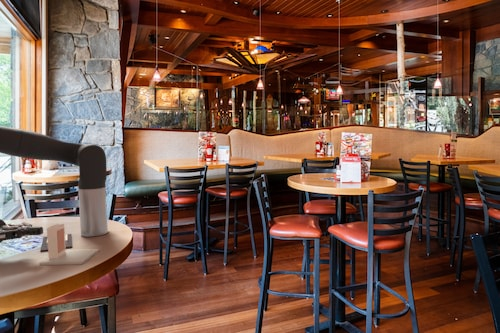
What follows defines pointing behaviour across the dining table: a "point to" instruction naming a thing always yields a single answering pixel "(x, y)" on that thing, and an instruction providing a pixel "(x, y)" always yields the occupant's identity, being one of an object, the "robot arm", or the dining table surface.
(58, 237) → the deck box
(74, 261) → the mat
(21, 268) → the dining table surface
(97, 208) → the robot arm
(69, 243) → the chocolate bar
